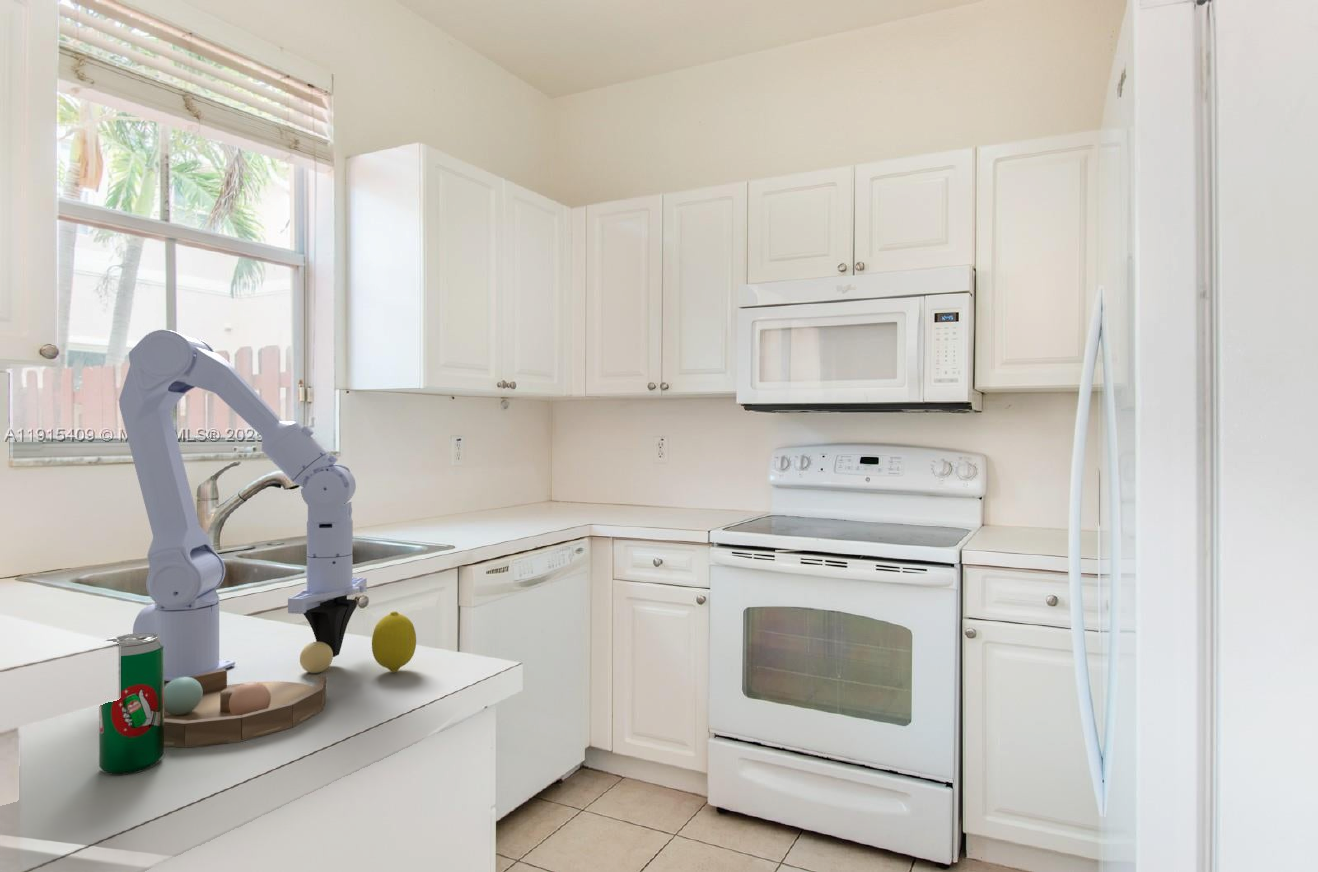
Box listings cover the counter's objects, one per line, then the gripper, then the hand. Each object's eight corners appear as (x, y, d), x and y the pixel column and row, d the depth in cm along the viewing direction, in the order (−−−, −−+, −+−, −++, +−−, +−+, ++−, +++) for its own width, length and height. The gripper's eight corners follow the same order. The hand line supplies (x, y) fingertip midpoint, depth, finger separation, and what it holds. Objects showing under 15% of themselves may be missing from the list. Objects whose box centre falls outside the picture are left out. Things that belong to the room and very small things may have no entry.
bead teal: (151, 718, 84) (151, 682, 84) (180, 706, 88) (180, 671, 88) (182, 721, 83) (182, 684, 83) (211, 708, 87) (211, 673, 87)
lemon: (402, 680, 98) (402, 617, 98) (363, 677, 99) (363, 615, 99) (424, 667, 104) (424, 607, 104) (386, 664, 105) (386, 606, 105)
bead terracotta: (220, 724, 82) (220, 687, 82) (247, 711, 86) (247, 675, 86) (253, 727, 81) (253, 689, 81) (278, 714, 85) (279, 678, 85)
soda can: (120, 755, 75) (120, 632, 75) (174, 753, 76) (174, 630, 76) (86, 778, 70) (86, 646, 70) (145, 776, 71) (145, 644, 71)
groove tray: (81, 738, 79) (81, 714, 79) (222, 680, 98) (222, 661, 98) (245, 753, 76) (245, 729, 76) (358, 690, 94) (358, 670, 94)
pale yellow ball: (293, 676, 100) (292, 645, 100) (312, 666, 104) (312, 637, 104) (320, 678, 99) (320, 647, 99) (339, 668, 103) (339, 638, 103)
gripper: (323, 564, 96) (323, 673, 96) (385, 547, 111) (385, 642, 111) (273, 562, 98) (273, 669, 98) (341, 546, 112) (341, 640, 112)
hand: (329, 655), depth 104 cm, fingers closed, pressing on pale yellow ball
